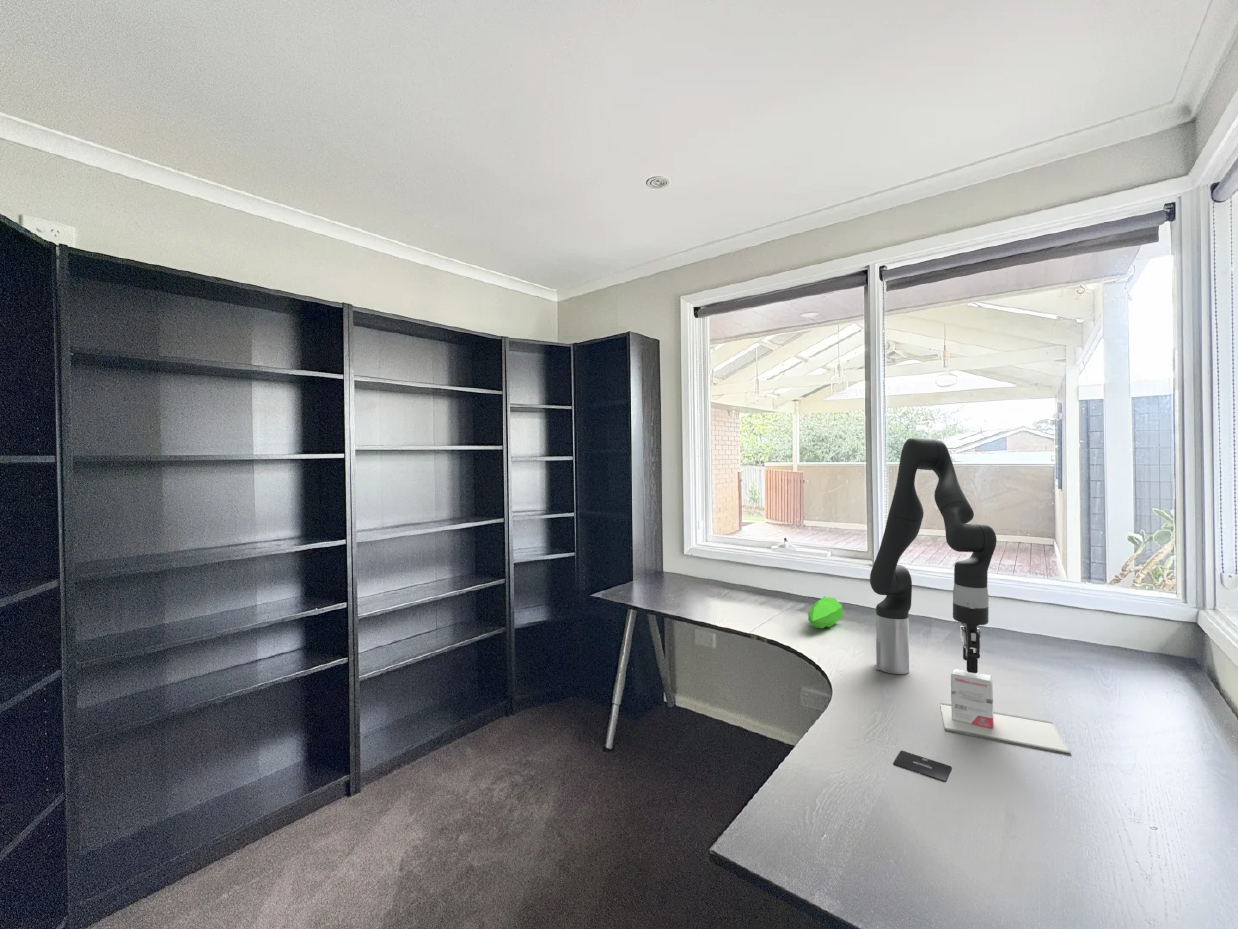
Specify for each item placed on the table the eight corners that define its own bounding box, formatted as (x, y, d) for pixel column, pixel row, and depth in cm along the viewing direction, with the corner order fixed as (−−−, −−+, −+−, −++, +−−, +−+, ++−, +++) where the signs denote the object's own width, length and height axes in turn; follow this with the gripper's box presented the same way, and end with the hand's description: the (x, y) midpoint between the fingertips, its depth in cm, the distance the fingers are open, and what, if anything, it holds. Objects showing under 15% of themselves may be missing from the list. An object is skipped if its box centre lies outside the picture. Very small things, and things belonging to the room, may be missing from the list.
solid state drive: (901, 753, 119) (901, 750, 119) (952, 769, 113) (952, 766, 113) (892, 766, 114) (892, 763, 114) (945, 784, 107) (945, 781, 107)
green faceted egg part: (841, 590, 222) (820, 603, 198) (852, 617, 219) (832, 633, 195) (815, 597, 228) (792, 610, 204) (826, 623, 225) (803, 639, 201)
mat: (945, 731, 128) (945, 728, 128) (940, 704, 142) (940, 702, 142) (1070, 755, 117) (1070, 753, 117) (1051, 723, 131) (1051, 721, 131)
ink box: (994, 722, 132) (993, 675, 132) (993, 730, 128) (992, 681, 128) (953, 712, 137) (952, 667, 137) (951, 719, 133) (950, 673, 133)
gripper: (950, 594, 140) (950, 654, 141) (955, 607, 128) (955, 673, 128) (984, 597, 137) (984, 659, 137) (992, 612, 124) (992, 679, 124)
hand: (970, 666), depth 132 cm, fingers open, 8 cm apart
